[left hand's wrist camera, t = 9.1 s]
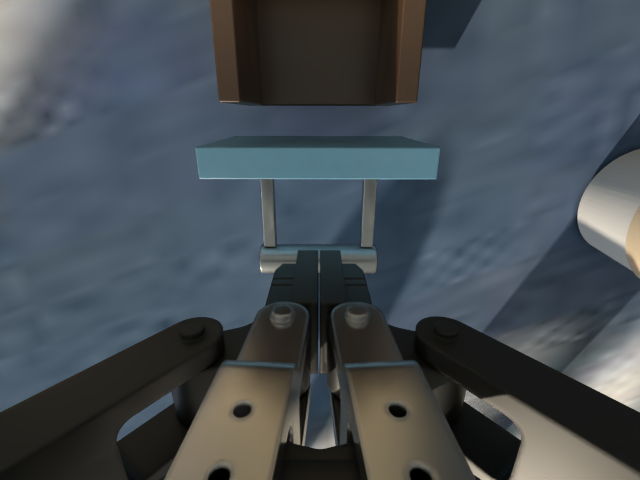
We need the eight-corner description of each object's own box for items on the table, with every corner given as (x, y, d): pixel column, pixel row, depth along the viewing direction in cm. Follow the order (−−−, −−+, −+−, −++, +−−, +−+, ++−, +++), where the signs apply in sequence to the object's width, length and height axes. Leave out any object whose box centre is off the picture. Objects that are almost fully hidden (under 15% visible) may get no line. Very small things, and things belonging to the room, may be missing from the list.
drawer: (392, 247, 21) (422, 302, 15) (244, 247, 21) (214, 302, 15) (443, -358, 13) (558, -799, 6) (194, -359, 13) (77, -799, 6)
